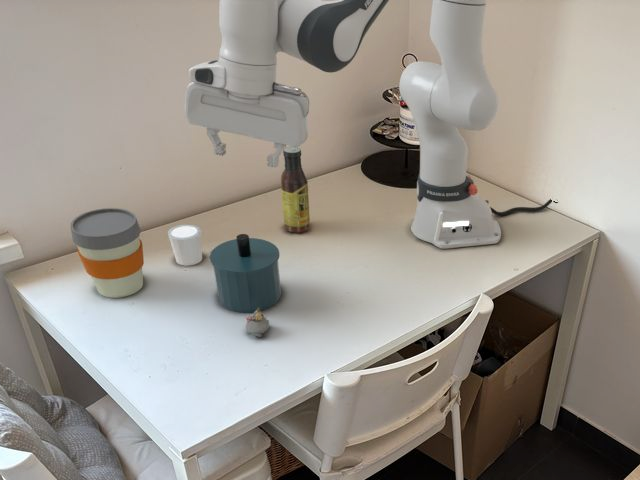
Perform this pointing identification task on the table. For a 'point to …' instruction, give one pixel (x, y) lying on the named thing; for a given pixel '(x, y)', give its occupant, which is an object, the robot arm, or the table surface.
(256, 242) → the pot lid
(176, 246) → the white cylinder
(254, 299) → the pot
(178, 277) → the table surface
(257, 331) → the figurine
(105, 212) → the reusable coffee cup
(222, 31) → the robot arm
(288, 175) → the sauce bottle
